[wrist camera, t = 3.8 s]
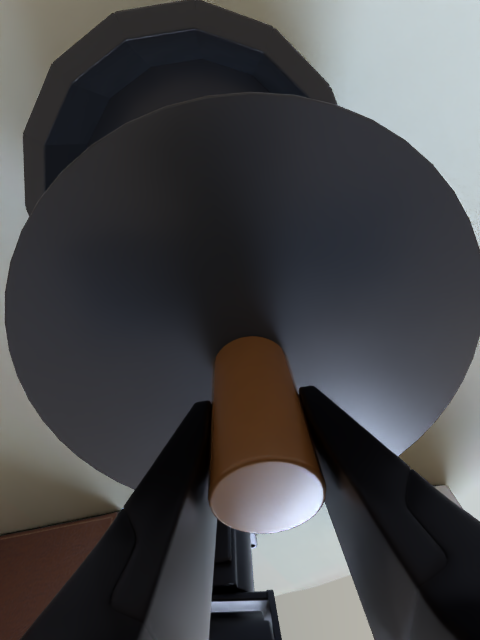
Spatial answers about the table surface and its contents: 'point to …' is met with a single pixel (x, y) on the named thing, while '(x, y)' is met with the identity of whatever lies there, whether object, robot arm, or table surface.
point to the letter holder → (41, 568)
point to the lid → (243, 294)
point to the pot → (153, 77)
